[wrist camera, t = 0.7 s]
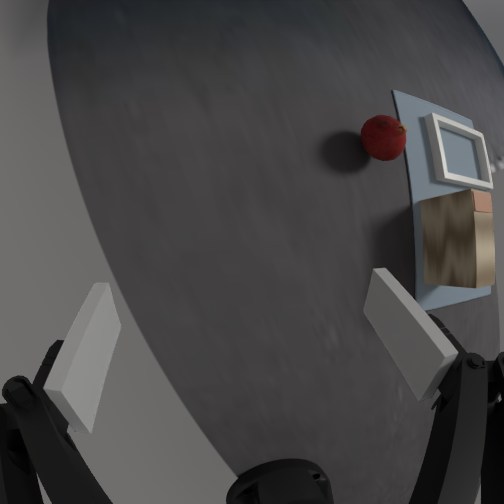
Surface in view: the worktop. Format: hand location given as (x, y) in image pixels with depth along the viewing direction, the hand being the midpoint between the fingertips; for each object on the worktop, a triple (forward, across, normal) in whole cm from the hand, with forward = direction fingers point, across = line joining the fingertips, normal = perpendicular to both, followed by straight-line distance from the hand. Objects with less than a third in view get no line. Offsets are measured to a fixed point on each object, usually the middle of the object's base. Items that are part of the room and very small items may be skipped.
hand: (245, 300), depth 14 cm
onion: (+25, -19, -5) cm, 32 cm away
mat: (+24, -37, +2) cm, 44 cm away
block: (+20, -30, +7) cm, 37 cm away
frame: (+28, -40, -5) cm, 49 cm away
